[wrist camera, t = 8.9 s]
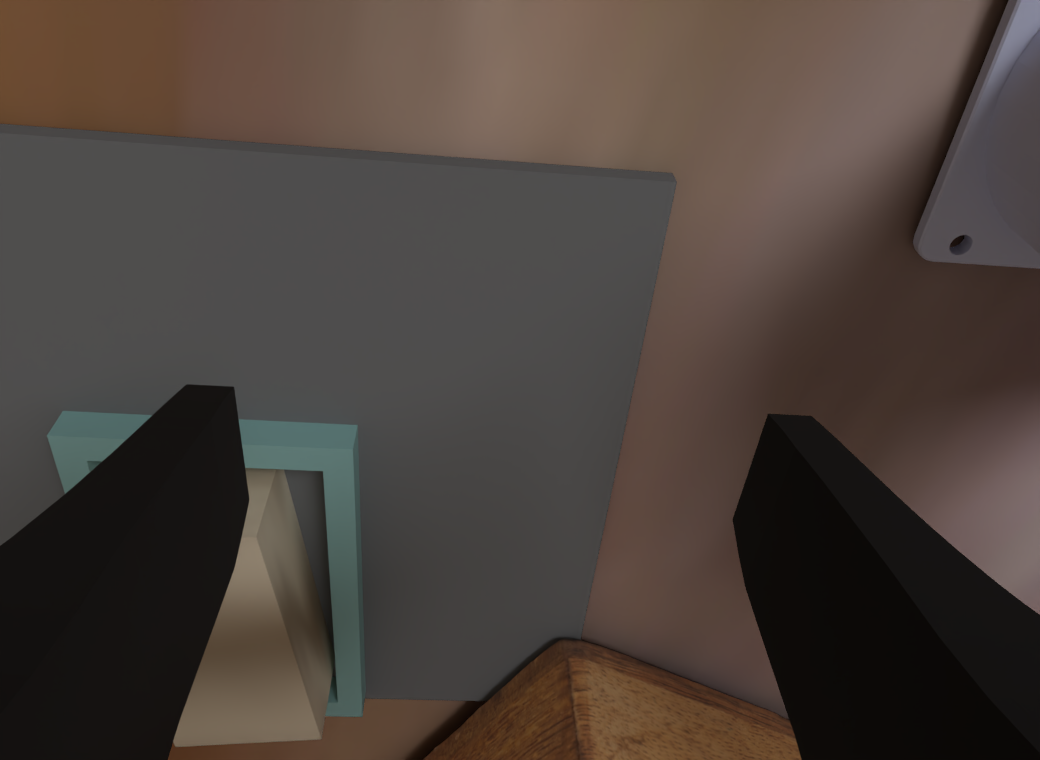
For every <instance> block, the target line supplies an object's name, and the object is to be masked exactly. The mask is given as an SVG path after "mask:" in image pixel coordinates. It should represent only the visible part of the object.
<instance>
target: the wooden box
mask: <svg viewBox="0 0 1040 760" xmlns="http://www.w3.org/2000/svg"><path fill="white" fill-rule="evenodd" d="M423 760H802V759H801V756H800V752H799V749H798V745H797V742H796V738H795V735H794V732H793V729H792V726H791V723H790V720H788V719H785V718H783V717H781V716H779V715H778V714H776V713H774V712H771V711H769V710H766V709H763V708H761V707H758V706H755V705H753V704H750V703H747V702H745V701H742V700H740V699H737V698H734V697H732V696H729V695H726V694H724V693H721V692H718V691H716V690H713V689H711V688H709V687H707V686H704V685H701V684H699V683H696V682H693V681H690V680H688V679H685V678H682V677H680V676H677V675H675V674H672V673H670V672H668V671H666V670H662V669H660V668H657V667H654V666H651V665H649V664H647V663H644V662H641V661H639V660H636V659H634V658H632V657H629V656H627V655H624V654H621V653H619V652H616V651H613V650H610V649H607V648H605V647H602V646H599V645H595V644H592V643H589V642H586V641H581V640H574V639H561V640H559V641H558V642H556V643H555V644H553V645H552V646H550V647H549V648H548V649H546V650H545V651H544V652H542V653H541V654H540V655H539V656H538V657H537V658H535V659H534V660H533V661H532V662H530V663H529V664H528V665H527V666H526V667H525V668H523V669H522V670H521V671H520V672H519V673H518V674H517V675H516V676H515V677H514V678H513V679H512V680H511V681H509V682H508V683H507V684H506V685H505V686H504V687H503V688H502V689H500V690H499V691H498V692H497V693H496V694H495V695H494V696H493V697H492V698H491V699H490V700H488V701H487V702H486V703H485V704H484V705H482V706H481V707H480V708H478V710H477V711H476V712H475V713H474V714H473V715H472V716H471V717H469V718H468V719H467V721H466V722H465V723H464V724H463V725H462V726H460V727H459V728H458V729H457V730H456V731H455V732H454V733H453V734H451V735H450V736H449V737H448V738H447V739H446V740H445V741H443V742H442V743H441V744H440V745H438V746H437V747H435V748H434V750H433V751H432V752H431V753H430V754H429V755H427V756H426V757H425V758H424V759H423Z"/></svg>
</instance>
